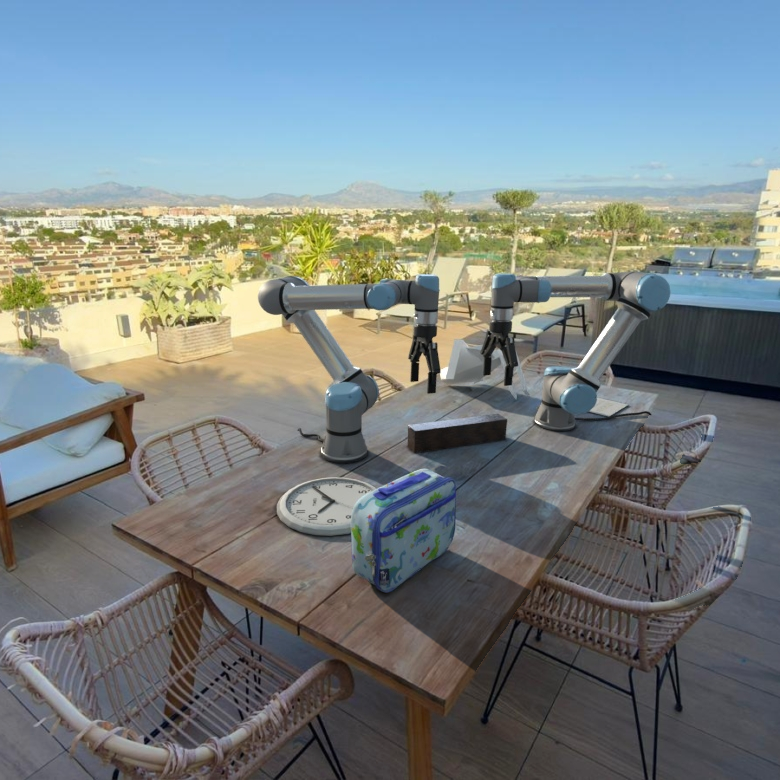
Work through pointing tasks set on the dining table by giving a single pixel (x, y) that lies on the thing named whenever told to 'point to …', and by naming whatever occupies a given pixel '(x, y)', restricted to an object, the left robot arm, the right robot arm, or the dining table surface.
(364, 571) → the lunch box
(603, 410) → the invitation card
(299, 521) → the wall clock
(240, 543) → the dining table surface
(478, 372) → the white plastic object
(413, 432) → the walnut beam
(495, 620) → the dining table surface
